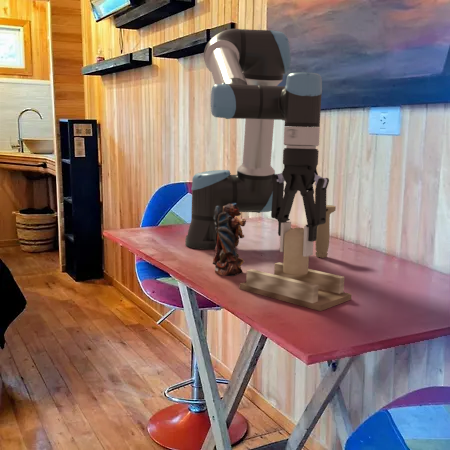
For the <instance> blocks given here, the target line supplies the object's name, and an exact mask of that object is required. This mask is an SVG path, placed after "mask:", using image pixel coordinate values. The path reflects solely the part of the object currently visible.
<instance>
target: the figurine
mask: <svg viewBox="0 0 450 450" xmlns="http://www.w3.org/2000/svg"><path fill="white" fill-rule="evenodd" d="M236 206H237V203H232V204H230V203H229V204H228V205H225V206H223V212H222V210H221V207H220V206H216V208H215V211H214V221H215V226H216V227H215V232H216V237H215V238H216V243H217V244H216V247H215V250H214V251H215V253H214V254H215V255H214V257H213V260H212V265H214V266H215V267H214V273H216V274H218V275H220V276H230V277H232V276H233V277H234V276H236V275H240V274H243V273H244V272H243V269H242V267H241V266H242V265H243V264H244V263H245V260H244V259H243V258H240V255H239V253H238V251H237V247H238V246H239V244H240V239H244V238H245V234H243V230H242V227H245V226H246V223H247V219H246V218H240V219H239V218H238V217H240V216H241V214H242V212H239V211H238V210H239V209H238V208H237V207H236Z"/></svg>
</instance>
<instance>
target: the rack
mask: <svg viewBox="0 0 450 450" xmlns="http://www.w3.org/2000/svg"><path fill="white" fill-rule="evenodd" d="M273 271H274V272H273V273H269V272H266V271H261V270H257V269H254V268H253V269H252V268H251V269H248V270H246V279H245V280H246V281H245V282H240V283H239V289H240V290H242V291H247V292H249V293H253V294H256V295H261V296H264V297H268V298H271V299H272V298H273V299H275V300H278V301H279V300H280V301H283V302H286V303H290V304H293V305H297V306H301V307H304V308H308V309H312V310H314V311H319V312H322V311H326V310H327V309H330V308H332V307H335V306H337V305H340V304H342V303H345V302H348V301H351V300H352V295H353V294H352V293H348V292H344V290H345V276H342V275H339V274H334V273H329V272H325V271H320V270H315V269H311V268H308V273H307V274H306V275H289V274H286V273H284V272H283V262H280V261H279V262H276V263H274V269H273Z"/></svg>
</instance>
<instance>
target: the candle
mask: <svg viewBox="0 0 450 450" xmlns="http://www.w3.org/2000/svg"><path fill="white" fill-rule="evenodd" d="M303 242H304V227H294V228H292V227H291V228H290V229H289V230H288V231H287V232H286V233H285V238H284V252H283V262H282V263H283V272H284V273H286V274H289V275H306V274H307V273H308V269H309V257H310V256H307V257H304V256H303Z"/></svg>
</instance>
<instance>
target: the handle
mask: <svg viewBox="0 0 450 450" xmlns="http://www.w3.org/2000/svg"><path fill="white" fill-rule="evenodd" d="M336 207H337V206H336V205H333V204H332V205H331V204H329V205H328V204H326V223H325V224H321V225H318V226H317V239H316V241H314V242H315V251H316V252H315V256H316V257H317V258H319V257H320V259H321V258H322V259H324V258H328V252H329V248H330V247H329V246H330V233H331V231H330V230H331V229H330V225H331V224H330V217H331V214H332V213H335V211H336Z"/></svg>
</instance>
